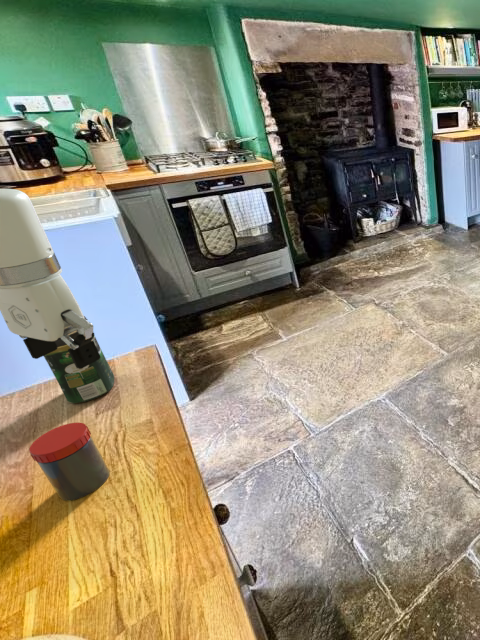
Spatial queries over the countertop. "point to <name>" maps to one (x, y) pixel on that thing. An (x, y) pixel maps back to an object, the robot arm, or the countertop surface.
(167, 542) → the countertop surface
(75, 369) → the coffee jar
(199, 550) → the countertop surface
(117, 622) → the countertop surface
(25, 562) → the countertop surface
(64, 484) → the jam jar
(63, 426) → the jam lid
